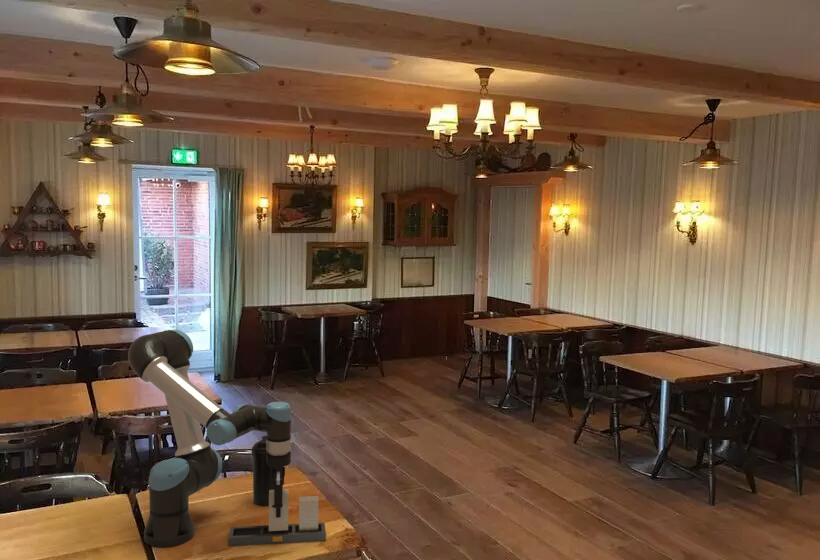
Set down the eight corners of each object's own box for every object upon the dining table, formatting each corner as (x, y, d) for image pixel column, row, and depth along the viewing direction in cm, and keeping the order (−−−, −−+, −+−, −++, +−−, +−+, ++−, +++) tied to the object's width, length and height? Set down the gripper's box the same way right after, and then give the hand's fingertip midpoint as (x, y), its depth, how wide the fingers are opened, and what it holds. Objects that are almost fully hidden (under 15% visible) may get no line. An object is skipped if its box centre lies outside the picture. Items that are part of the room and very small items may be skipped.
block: (268, 531, 211) (268, 494, 210) (269, 526, 214) (269, 490, 213) (288, 530, 212) (288, 493, 211) (288, 525, 215) (288, 489, 214)
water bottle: (283, 496, 245) (284, 435, 242) (275, 508, 234) (275, 444, 232) (256, 494, 246) (257, 433, 243) (247, 506, 235) (247, 442, 233)
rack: (228, 546, 207) (228, 507, 206) (230, 534, 214) (230, 496, 213) (325, 541, 212) (326, 503, 211) (324, 530, 220) (325, 493, 218)
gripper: (290, 460, 203) (290, 534, 205) (291, 442, 219) (290, 510, 222) (265, 461, 202) (265, 535, 204) (267, 443, 218) (267, 512, 220)
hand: (278, 522), depth 213 cm, fingers closed on block, 3 cm apart
